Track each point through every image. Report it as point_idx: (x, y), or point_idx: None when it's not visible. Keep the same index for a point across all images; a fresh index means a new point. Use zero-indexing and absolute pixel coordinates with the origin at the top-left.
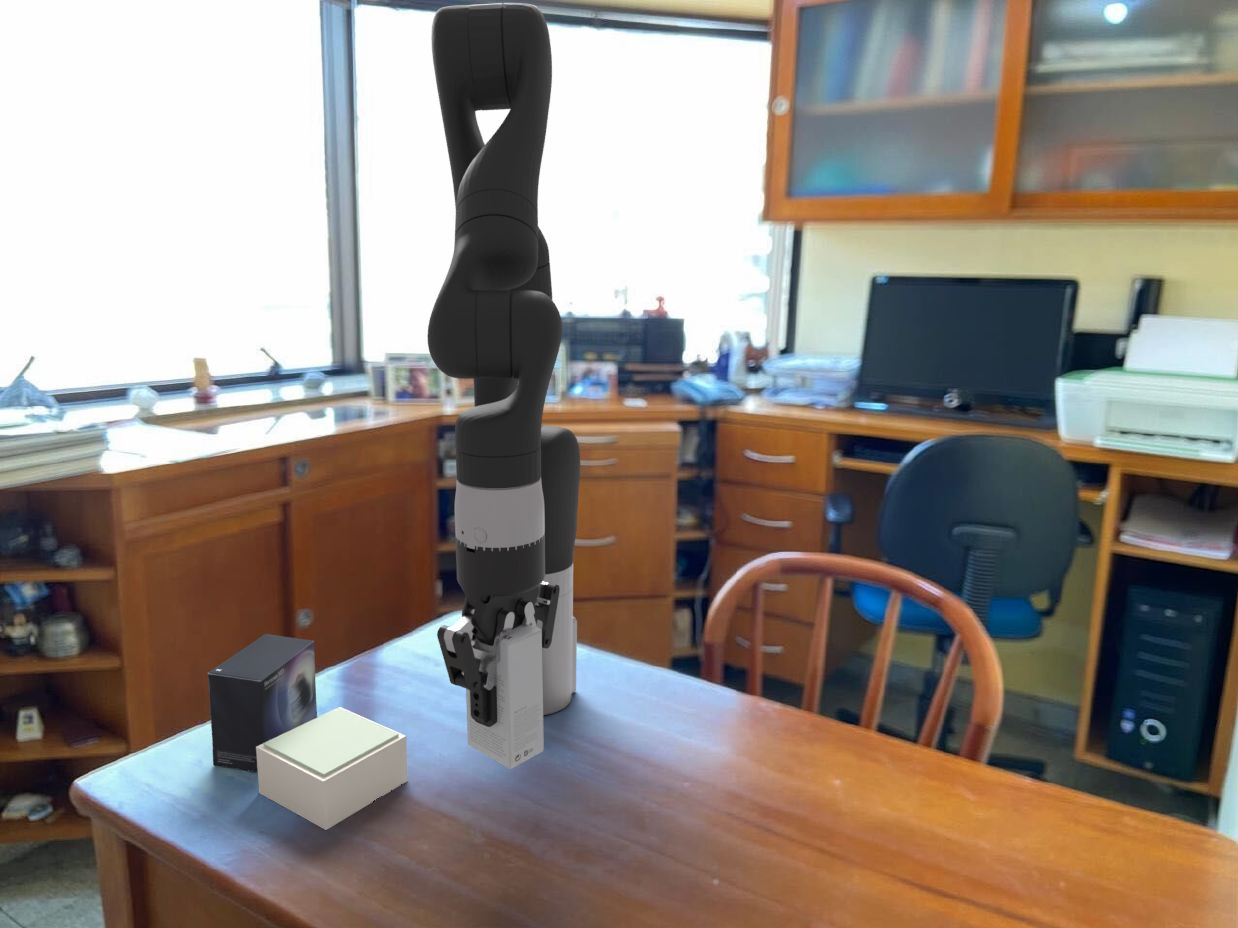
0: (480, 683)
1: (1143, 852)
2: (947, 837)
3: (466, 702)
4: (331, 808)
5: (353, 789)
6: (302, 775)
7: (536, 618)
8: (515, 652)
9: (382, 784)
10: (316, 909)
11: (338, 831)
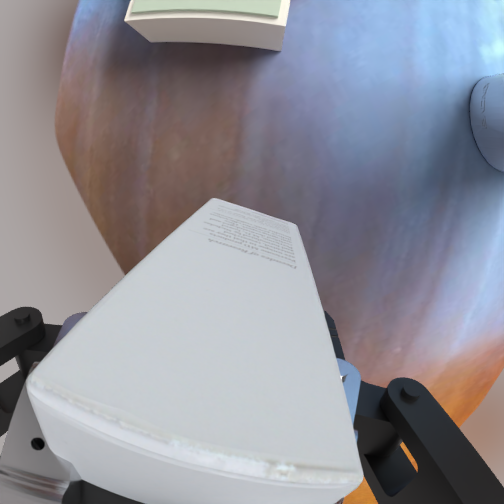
0: None
1: (368, 500)
2: None
3: (188, 218)
4: (151, 34)
5: (182, 31)
6: None
7: (407, 487)
8: None
9: (235, 39)
10: (62, 134)
11: (154, 53)
